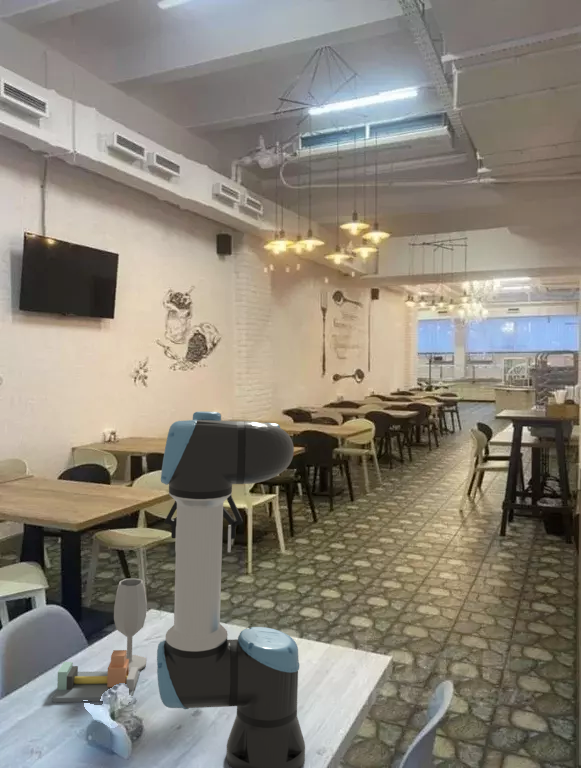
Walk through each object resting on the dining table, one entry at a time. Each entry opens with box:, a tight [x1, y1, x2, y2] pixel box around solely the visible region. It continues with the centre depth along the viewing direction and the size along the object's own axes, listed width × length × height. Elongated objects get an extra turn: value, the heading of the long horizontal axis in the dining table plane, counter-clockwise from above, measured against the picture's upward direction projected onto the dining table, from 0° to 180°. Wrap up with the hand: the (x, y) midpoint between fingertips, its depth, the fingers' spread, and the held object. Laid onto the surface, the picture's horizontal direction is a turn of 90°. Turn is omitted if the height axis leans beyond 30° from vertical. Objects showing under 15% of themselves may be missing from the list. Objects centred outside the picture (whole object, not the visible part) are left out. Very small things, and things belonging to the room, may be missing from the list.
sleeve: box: [107, 649, 129, 687], centre depth 144 cm, size 5×4×7 cm
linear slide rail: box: [52, 661, 141, 703], centre depth 144 cm, size 12×17×5 cm
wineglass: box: [113, 577, 147, 672], centre depth 155 cm, size 9×9×21 cm
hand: (203, 550), depth 164 cm, fingers open, 13 cm apart
